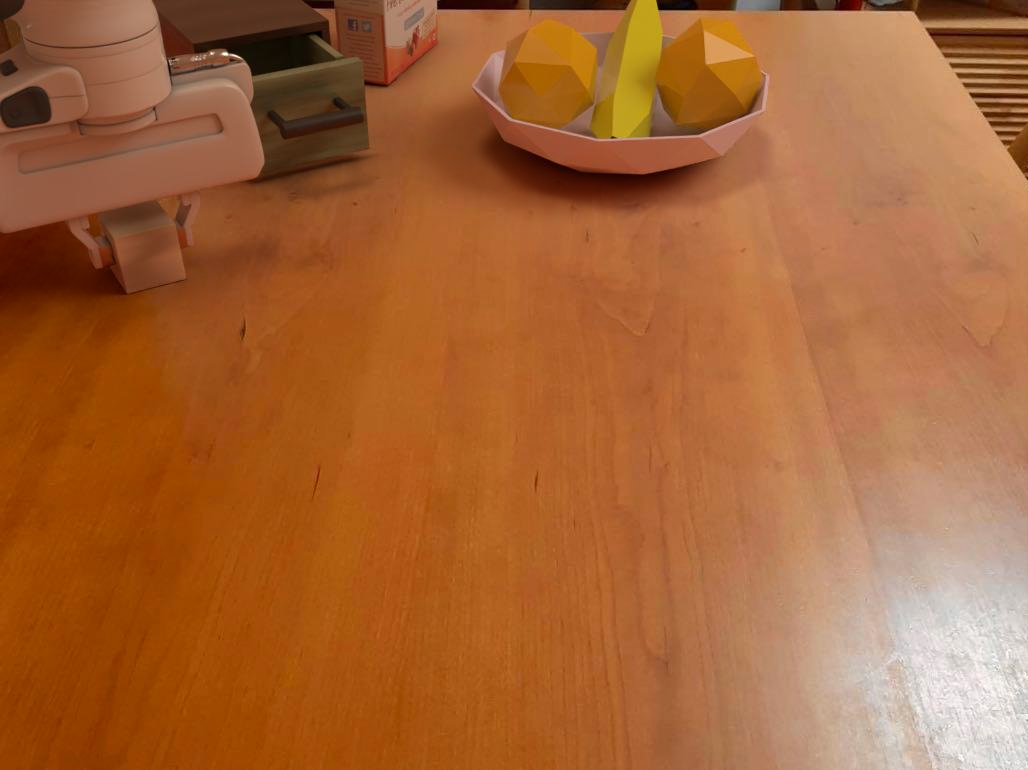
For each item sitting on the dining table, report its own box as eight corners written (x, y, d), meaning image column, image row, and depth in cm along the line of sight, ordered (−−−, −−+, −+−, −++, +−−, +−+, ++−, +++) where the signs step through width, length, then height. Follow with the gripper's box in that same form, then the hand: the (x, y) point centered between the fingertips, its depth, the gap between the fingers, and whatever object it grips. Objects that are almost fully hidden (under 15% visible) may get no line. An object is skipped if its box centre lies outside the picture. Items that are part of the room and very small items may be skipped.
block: (127, 294, 87) (113, 238, 84) (110, 268, 90) (96, 212, 87) (186, 279, 89) (175, 223, 86) (168, 254, 92) (156, 199, 89)
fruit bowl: (697, 234, 95) (714, 95, 87) (419, 163, 105) (412, 32, 97) (812, 117, 113) (834, -6, 105) (565, 66, 123) (569, -50, 115)
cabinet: (339, 125, 111) (329, 19, 105) (211, 152, 106) (192, 43, 100) (279, 72, 121) (266, -26, 115) (160, 95, 116) (140, -7, 110)
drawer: (391, 167, 102) (385, 77, 97) (268, 196, 98) (254, 103, 92) (307, 95, 114) (298, 12, 109) (195, 118, 110) (179, 32, 105)
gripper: (231, 30, 85) (258, 207, 94) (-63, 81, 77) (-3, 268, 87) (262, 57, 81) (287, 239, 90) (-45, 114, 73) (16, 306, 83)
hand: (143, 254), depth 88 cm, fingers closed on block, 5 cm apart
